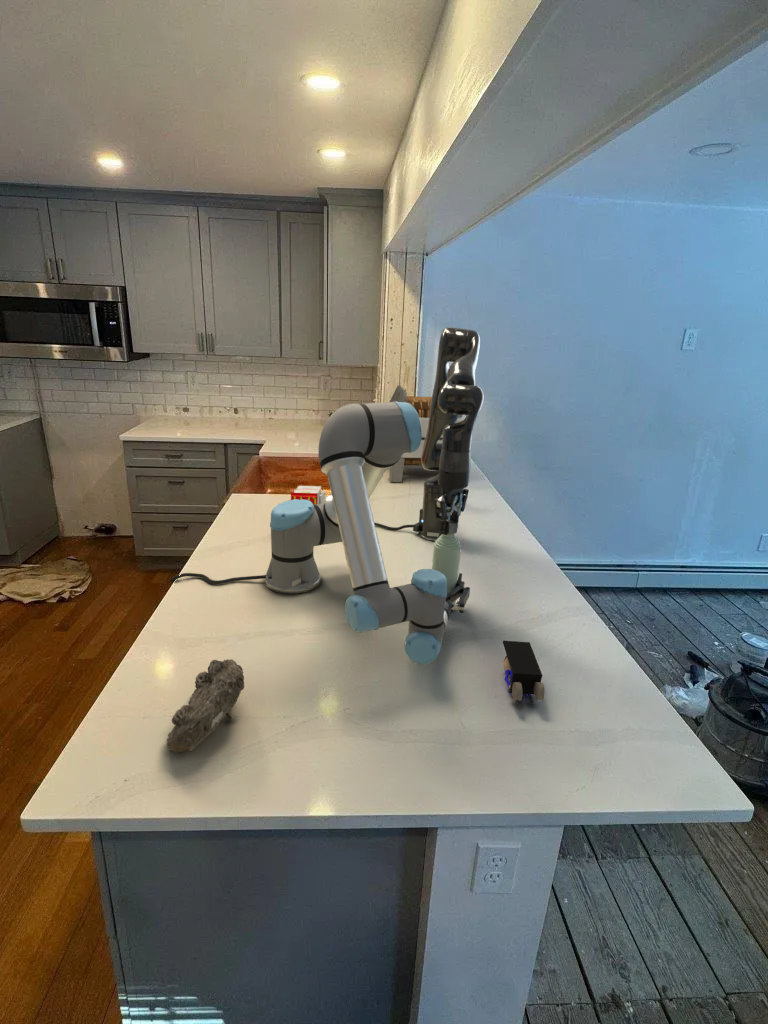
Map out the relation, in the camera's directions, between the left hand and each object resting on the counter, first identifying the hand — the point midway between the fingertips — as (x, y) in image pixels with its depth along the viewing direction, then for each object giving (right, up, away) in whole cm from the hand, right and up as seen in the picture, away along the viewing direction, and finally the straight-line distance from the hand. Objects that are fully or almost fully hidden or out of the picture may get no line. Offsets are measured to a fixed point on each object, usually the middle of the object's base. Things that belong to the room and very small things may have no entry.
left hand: (446, 575), depth 155 cm
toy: (-46, +15, +56) cm, 74 cm away
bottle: (-2, -8, -2) cm, 8 cm away
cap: (0, +15, -10) cm, 18 cm away
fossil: (-50, -22, -47) cm, 72 cm away
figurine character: (+12, -20, -35) cm, 42 cm away
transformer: (0, +36, +120) cm, 125 cm away
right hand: (-1, +13, -10) cm, 16 cm away
